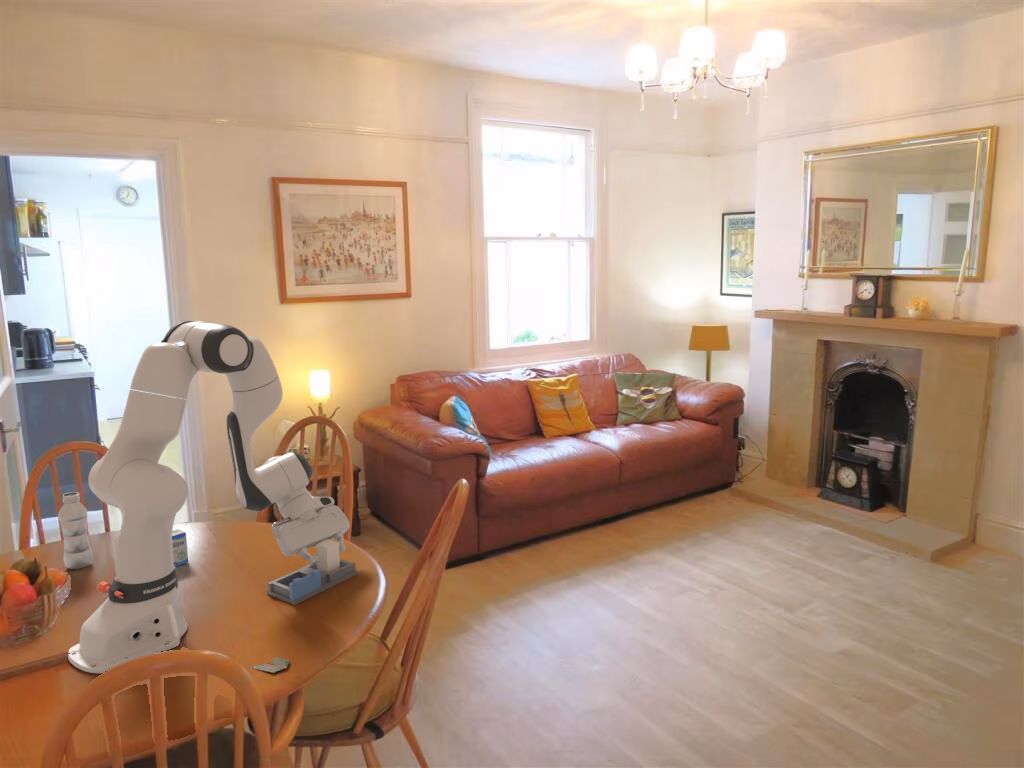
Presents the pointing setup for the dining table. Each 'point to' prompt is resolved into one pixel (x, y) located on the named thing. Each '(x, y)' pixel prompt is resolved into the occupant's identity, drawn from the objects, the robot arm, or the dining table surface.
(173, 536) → the medicine box
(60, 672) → the dining table surface
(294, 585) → the two-compartment grey tray
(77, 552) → the plastic bottle
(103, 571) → the dining table surface
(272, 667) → the map
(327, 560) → the white rectangular block
